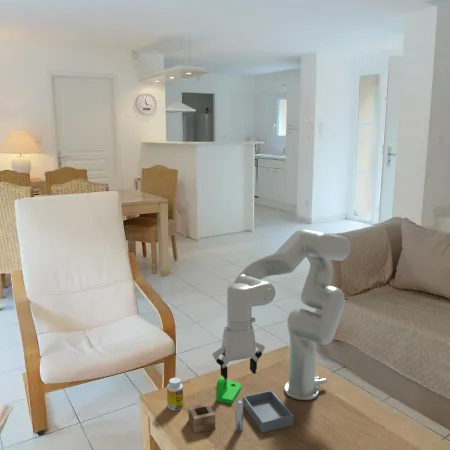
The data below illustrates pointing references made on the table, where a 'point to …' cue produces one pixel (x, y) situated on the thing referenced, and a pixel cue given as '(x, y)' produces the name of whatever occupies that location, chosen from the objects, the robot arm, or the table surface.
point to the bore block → (201, 418)
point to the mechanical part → (227, 390)
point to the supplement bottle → (175, 394)
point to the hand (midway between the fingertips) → (238, 374)
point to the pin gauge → (239, 415)
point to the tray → (267, 411)
